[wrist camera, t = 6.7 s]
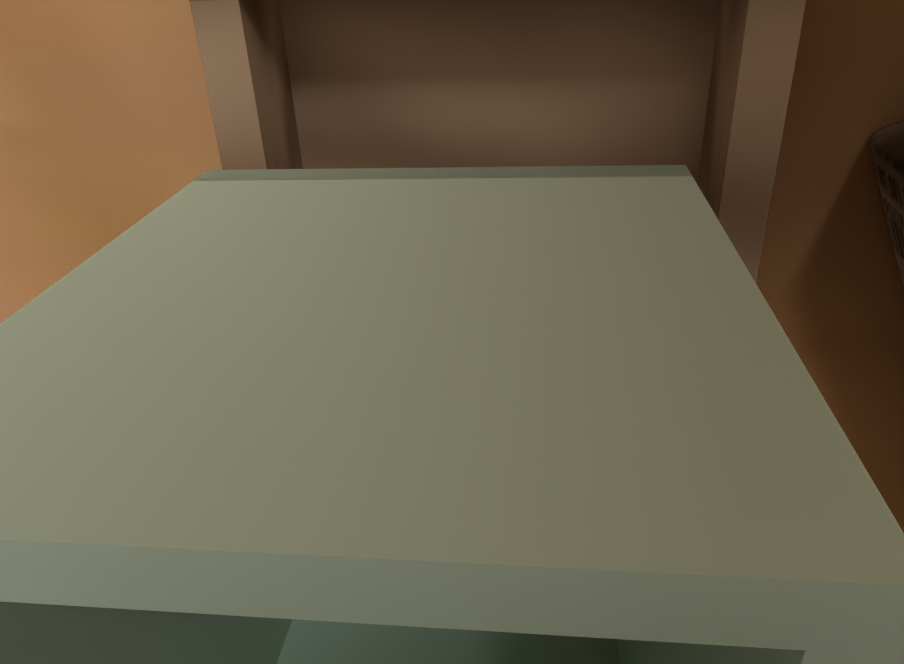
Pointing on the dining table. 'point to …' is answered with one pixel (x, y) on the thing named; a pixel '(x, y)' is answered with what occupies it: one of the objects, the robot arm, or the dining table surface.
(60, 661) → the small crate
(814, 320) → the dining table surface
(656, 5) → the walnut crate
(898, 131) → the beverage carton
